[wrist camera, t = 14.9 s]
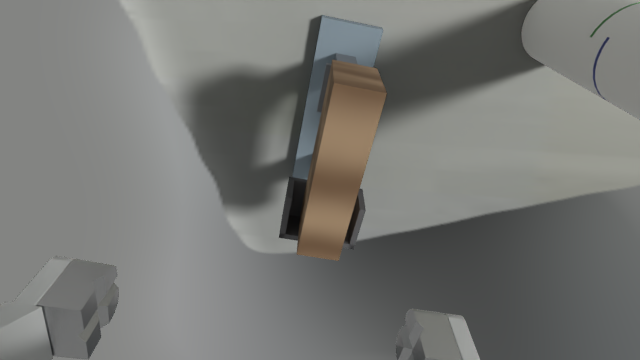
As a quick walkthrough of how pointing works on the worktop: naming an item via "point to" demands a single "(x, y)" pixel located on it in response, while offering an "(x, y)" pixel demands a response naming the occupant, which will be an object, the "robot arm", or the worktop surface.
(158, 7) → the worktop surface
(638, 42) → the cylindrical container
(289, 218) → the stand
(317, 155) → the rail
